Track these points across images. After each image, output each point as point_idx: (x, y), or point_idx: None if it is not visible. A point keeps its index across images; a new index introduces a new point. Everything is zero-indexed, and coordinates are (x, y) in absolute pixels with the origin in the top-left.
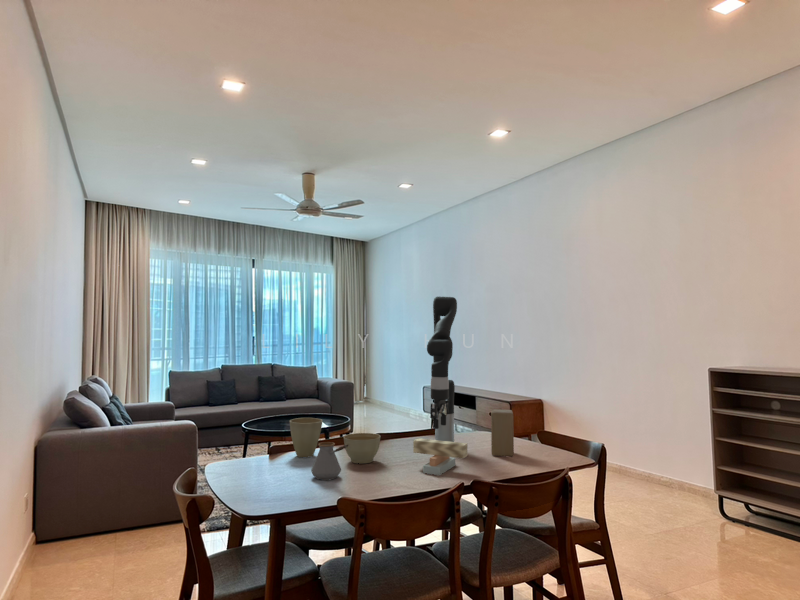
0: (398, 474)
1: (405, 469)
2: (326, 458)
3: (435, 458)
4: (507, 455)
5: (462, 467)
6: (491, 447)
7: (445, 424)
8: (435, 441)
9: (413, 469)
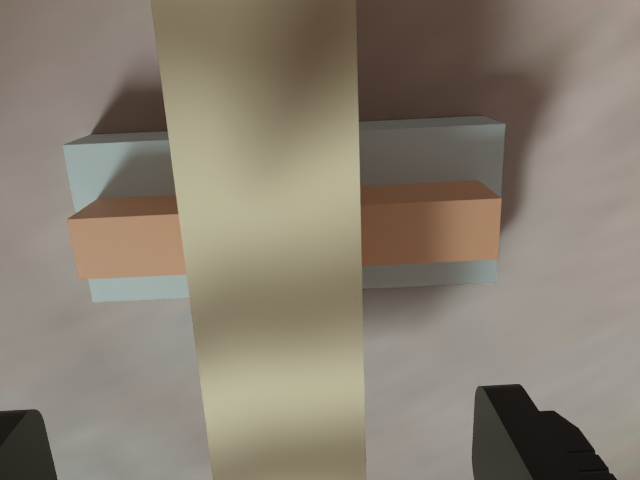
0: (581, 391)
1: (433, 411)
2: None
3: (490, 200)
4: None
5: (122, 42)
6: None
7: (26, 415)
8: (285, 354)
9: (406, 366)
